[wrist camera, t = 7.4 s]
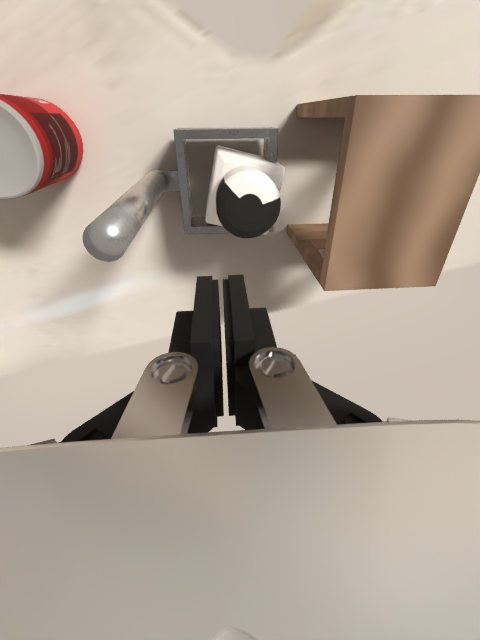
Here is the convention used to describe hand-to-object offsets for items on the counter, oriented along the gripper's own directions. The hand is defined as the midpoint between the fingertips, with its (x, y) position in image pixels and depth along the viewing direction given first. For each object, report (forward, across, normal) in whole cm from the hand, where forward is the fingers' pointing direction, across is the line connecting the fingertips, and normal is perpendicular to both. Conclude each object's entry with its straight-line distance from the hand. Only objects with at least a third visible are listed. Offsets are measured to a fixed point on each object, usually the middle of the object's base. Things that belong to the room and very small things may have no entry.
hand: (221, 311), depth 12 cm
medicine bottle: (+31, -3, +1) cm, 31 cm away
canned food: (+31, +18, -4) cm, 36 cm away
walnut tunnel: (+31, -14, 0) cm, 34 cm away
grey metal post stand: (+29, +1, 0) cm, 29 cm away
